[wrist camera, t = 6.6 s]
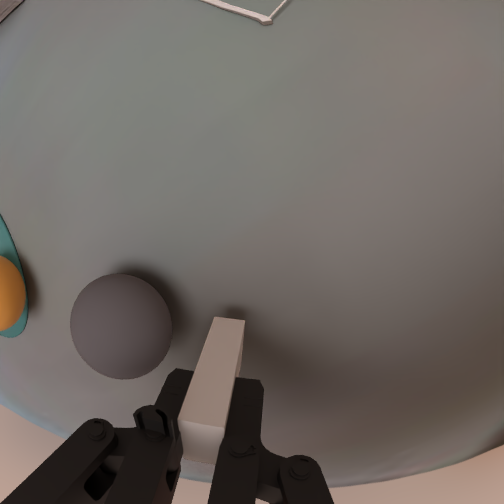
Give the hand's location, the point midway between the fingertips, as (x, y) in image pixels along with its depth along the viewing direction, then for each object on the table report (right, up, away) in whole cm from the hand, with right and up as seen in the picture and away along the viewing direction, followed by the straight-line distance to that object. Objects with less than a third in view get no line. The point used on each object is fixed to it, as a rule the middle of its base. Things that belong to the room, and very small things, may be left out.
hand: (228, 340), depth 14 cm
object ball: (-17, +2, 0) cm, 17 cm away
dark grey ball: (-6, +1, -1) cm, 6 cm away
